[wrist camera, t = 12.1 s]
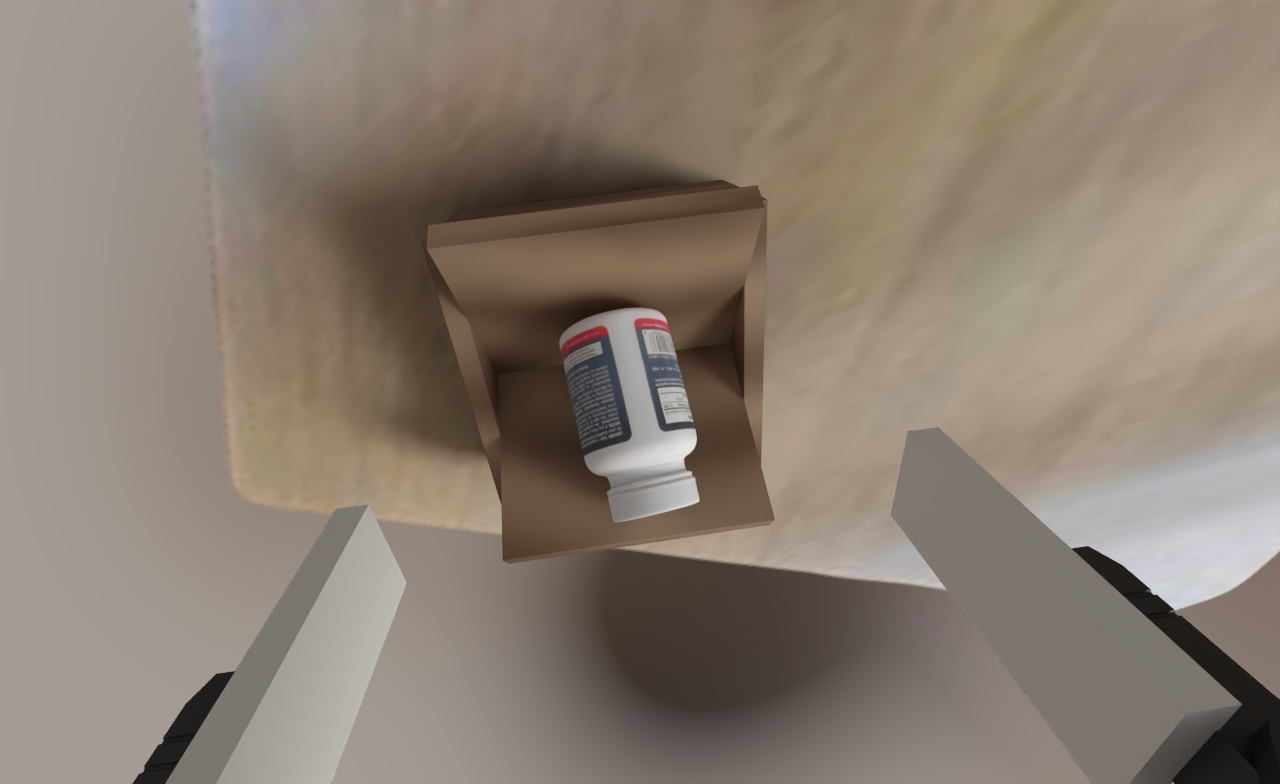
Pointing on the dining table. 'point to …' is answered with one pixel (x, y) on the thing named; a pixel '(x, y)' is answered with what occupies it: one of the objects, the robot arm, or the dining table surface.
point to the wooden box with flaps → (586, 286)
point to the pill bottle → (631, 410)
